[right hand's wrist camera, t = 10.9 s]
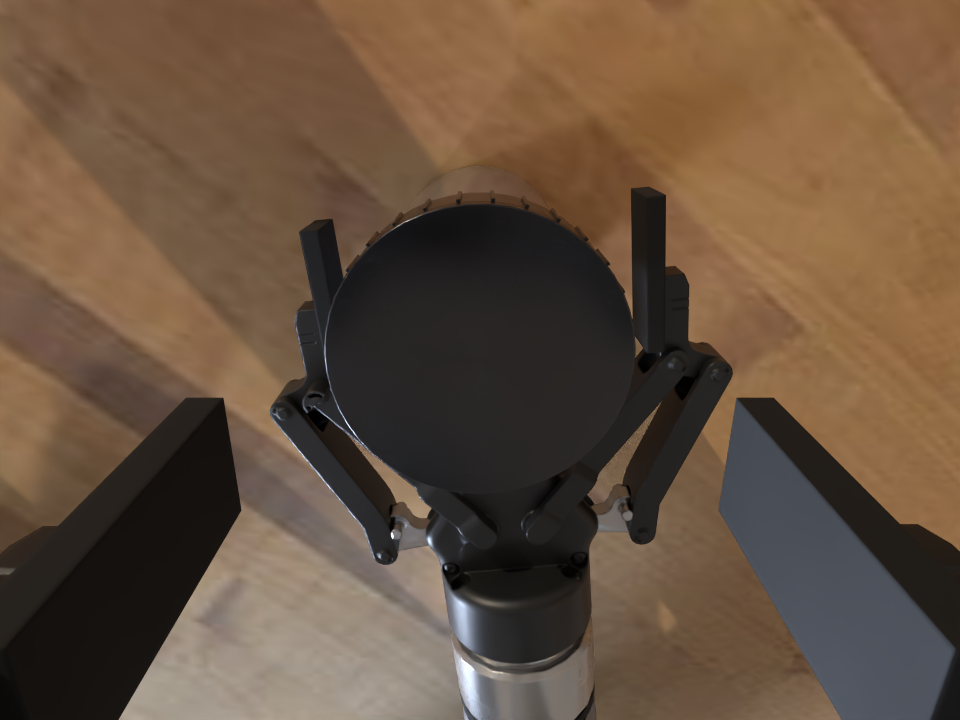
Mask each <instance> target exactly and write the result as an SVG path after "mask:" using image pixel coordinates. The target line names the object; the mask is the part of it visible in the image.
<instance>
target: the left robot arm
mask: <svg viewBox="0 0 960 720" xmlns="http://www.w3.org/2000/svg"><path fill="white" fill-rule="evenodd" d="M631 221H632V297H633V326H634V331H635V336H636V338H637V339H638V341H639V342H640V344H641V345H642V347H643V349H642V351H641V352H640V353H639V354H638V355H637V357H636V358H635V364H634V371H633V376H632V380H631V385H630V388H629V391H628V394H627V396H626V399H625V402H624V405H623V406H622V408H621V410H620V412H619V414H618V416H617V418H616V420H615V421H614V423H613V424H612V426H611V427H610V428H609V430H608V431H607V433H606V434H605V435H604V437H603V438H602V439H601V440H600V441H599V442H598V443H597V444H596V445H595V446H594V448H593V449H592V450H591V451H589V452H588V453H587V454H586V455H585V456H584V457H582V458H581V459H580V460H579V461H578V462H576V463H575V464H573V465H572V466H570V467H569V468H567V469H566V470H564V471H563V472H561V473H559V474H557V475H555V476H553V477H551V478H549V479H547V480H545V481H542V482H539V483H537V484H534V485H531V486H528V487H525V488H520V489H516V490H512V491H506V492H498V493H478V494H472V493H462V492H453V491H449V490H444V489H439V488H435V487H432V486H429V485H426V484H423V483H420V482H418V481H416V480H413V479H411V478H409V477H407V476H405V475H403V474H401V473H399V472H398V471H396V470H395V469H393V468H391V467H390V466H388V465H387V464H386V465H387V466H388V467H389V468H391V469H392V470H393V471H394V472H396V473H397V474H398V475H399V476H401V477H402V478H403V479H404V480H406V481H407V482H408V483H409V484H411V485H412V486H413V487H414V488H415V489H416V490H417V492H418V495H419V497H420V498H421V499H422V500H423V501H424V502H425V503H426V504H427V505H428V506H430V507H431V508H432V509H431V510H430V512H429V514H428V517H427V518H418V517H416V516H414V515H413V514H412V512H411V511H410V509H409V508H408V507H407V505H406V504H405V503H404V502H398V503H396V501H395V498H394V496H393V494H392V492H391V490H390V488H389V487H388V486H387V484H386V483H385V482H384V480H383V479H382V478H381V476H380V475H379V474H378V473H377V471H376V470H375V469H374V468H373V466H372V465H371V464H370V463H369V461H368V460H367V459H366V458H365V456H364V455H363V454H362V453H361V451H360V450H359V449H358V448H357V446H356V445H355V444H354V442H353V441H352V440H351V439H350V437H349V436H351V437H352V438H353V439H354V440H356V441H357V442H358V443H359V444H361V445H362V446H363V447H364V448H366V449H367V450H368V451H369V449H368V448H367V447H366V446H365V445H364V444H363V443H362V442H361V441H360V440H359V439H358V438H357V436H356V435H355V434H354V432H353V431H352V430H351V428H350V427H349V426H348V424H347V423H346V421H345V419H344V417H343V416H342V414H341V412H340V410H339V409H338V406H337V404H336V401H335V399H334V396H333V394H332V392H331V388H330V384H329V380H328V376H327V372H326V363H325V354H324V353H325V332H326V327H327V321H328V315H329V312H330V309H331V306H332V303H333V300H332V299H333V296H334V295H335V294H336V292H337V291H338V289H339V287H340V285H341V283H342V281H343V274H342V269H341V263H340V258H339V252H338V247H337V241H336V236H335V230H334V224H333V219H325V220H315V221H314V222H312V223H311V224H310V225H308V226H307V227H305V228H304V229H303V230H301V231H300V232H299V234H300V239H301V244H302V249H303V254H304V259H305V264H306V269H307V274H308V279H309V283H310V288H311V293H312V298H313V301H305V302H304V304H303V305H302V306H301V307H300V308H299V309H298V310H297V313H296V319H295V326H296V331H297V334H298V340H299V343H300V349H301V354H302V359H303V363H304V368H305V373H306V377H304V378H302V379H299V380H292V381H289V382H288V383H287V384H286V386H285V387H284V389H283V390H282V392H281V393H280V394H279V396H278V397H277V399H276V400H275V402H274V403H273V405H272V406H271V409H270V416H271V418H272V419H273V421H274V422H275V423H276V424H277V425H278V427H279V428H280V429H281V430H282V431H283V433H284V434H285V435H286V436H287V437H288V439H289V440H290V441H291V442H292V443H293V445H294V446H295V447H296V448H297V449H298V451H299V452H300V453H301V454H302V455H303V457H304V458H305V459H306V460H307V461H308V463H309V464H310V465H311V466H312V467H313V469H314V470H315V471H316V472H317V473H318V475H319V476H320V477H321V478H322V479H323V481H324V482H325V483H326V484H327V485H328V487H329V488H330V489H331V490H332V491H333V493H334V494H335V495H336V496H337V497H338V499H339V500H340V501H341V502H342V503H343V505H344V506H345V507H346V508H347V509H348V511H349V512H350V513H351V514H352V515H353V517H354V518H355V519H356V520H357V521H358V523H359V524H360V525H361V526H362V527H363V529H364V531H365V534H366V537H367V540H368V543H369V546H370V549H371V552H372V555H373V557H374V559H375V561H377V562H378V563H380V564H383V565H389V564H391V563H393V562H394V561H396V559H397V556H398V551H399V550H405V549H411V548H416V547H422V546H427V545H429V546H430V548H431V549H432V550H433V551H434V552H435V553H436V555H437V556H438V558H439V561H440V564H441V570H442V577H443V584H444V590H445V597H446V604H447V611H448V617H449V623H450V626H451V639H452V645H453V651H454V657H455V663H456V669H457V675H458V681H459V687H460V694H461V699H462V704H463V711H464V720H596V710H595V698H594V691H595V686H594V678H595V667H594V648H593V629H592V618H591V607H592V606H591V584H590V562H589V547H590V544H591V541H592V539H593V538H594V536H595V535H596V533H597V532H629V535H630V538H631V539H632V541H633V542H635V543H636V544H641V545H642V544H647V543H649V542H651V541H652V540H653V539H654V536H655V533H656V526H657V518H658V511H659V505H660V503H661V501H662V499H663V498H664V496H665V494H666V492H667V490H668V489H669V487H670V485H671V483H672V482H673V480H674V478H675V476H676V475H677V473H678V471H679V469H680V468H681V466H682V464H683V462H684V461H685V459H686V457H687V455H688V454H689V452H690V450H691V448H692V447H693V445H694V443H695V441H696V440H697V438H698V436H699V434H700V433H701V431H702V429H703V427H704V425H705V424H706V422H707V420H708V418H709V417H710V415H711V413H712V411H713V410H714V408H715V406H716V404H717V403H718V401H719V399H720V397H721V396H722V394H723V392H724V390H725V389H726V387H727V385H728V383H729V382H730V380H731V378H732V375H733V372H732V368H731V366H730V365H729V364H728V363H727V362H726V361H725V360H724V358H723V357H722V356H721V355H720V354H719V353H718V352H717V351H716V350H715V349H714V348H713V347H712V346H711V345H710V344H708V343H704V342H701V343H694V342H690V341H688V318H689V309H688V307H689V284H688V281H687V279H686V276H685V274H684V273H683V272H682V271H680V270H679V269H678V268H677V267H676V266H670V267H665V245H666V195H665V194H663V193H661V192H659V191H657V190H654V189H652V188H650V187H641V188H631ZM661 401H662V402H661ZM660 402H661V404H660V406H659V408H658V410H657V412H656V414H655V415H654V417H653V419H652V421H651V423H650V425H649V427H648V429H647V430H646V432H645V434H644V436H643V438H642V440H641V442H640V444H639V445H638V447H637V449H636V451H635V453H634V455H633V457H632V459H631V460H630V462H629V465H628V467H627V469H626V472H625V475H624V479H623V484H616V485H614V486H613V488H612V491H611V492H610V494H609V497H608V499H607V500H606V501H605V502H603V503H601V504H594V503H593V501H592V500H591V498H590V497H589V496H588V495H587V494H588V493H589V492H590V490H591V489H592V488H593V487H594V485H595V483H596V481H597V477H598V474H599V472H600V471H601V470H602V469H603V468H604V466H605V465H606V464H607V463H608V462H609V461H610V460H611V458H612V457H613V456H614V455H615V454H616V453H617V452H618V450H619V449H620V448H621V447H622V446H623V445H624V444H625V442H626V441H627V440H628V439H629V438H630V437H631V436H632V434H633V433H634V432H635V431H636V430H637V429H638V428H639V426H640V425H641V424H642V423H643V422H644V421H645V419H646V418H647V417H648V416H649V415H650V414H651V413H652V411H653V410H654V409H655V408H656V407H657V406H658V405H659V403H660ZM346 433H347V434H348V435H349V436H348V435H347V434H346ZM369 452H370V451H369ZM372 454H373V453H372ZM373 455H374V454H373ZM374 456H375V455H374ZM377 458H378V457H377ZM378 459H379V458H378ZM379 460H380V459H379ZM382 462H383V461H382ZM383 463H384V462H383ZM384 464H385V463H384Z"/></svg>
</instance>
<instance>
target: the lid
mask: <svg viewBox="0 0 960 720" xmlns="http://www.w3.org/2000/svg"><path fill="white" fill-rule="evenodd" d="M366 246H367V247H366V249H365V250H364V251H363V252H362V254H361V255H360V256H359V255H357V257H356V258H355V259H354V260H353V262H352V263H351V264H350V265H349V267H348V268H347V269H346V272H348V273H347V274H346V276H345V277H344V279H343V281H342V283H341V285H340V287H339V289H338V291H337V292H336V294H335V295H334V296H333V299H332V300H333V303H332V306H331V309H330V312H329V315H328V321H327V327H326V332H325V353H324V354H325V363H326V372H327V376H328V380H329V384H330V388H331V392H332V394H333V396H334V399H335V401H336V404H337V406H338V409H339V410H340V412H341V414H342V416H343V417H344V419H345V421H346V423H347V424H348V426H349V427H350V428H351V430H352V431H353V432H354V434H355V435H356V436H357V438H358V439H359V440H360V441H361V442H362V443H363V444H364V445H365V446H366V447H367V448H368V449H369V451H370V452H371V453H373V454H374V455H375V456H376V457H378V458H379V459H380V460H381V461H383V462H384V463H385V464H387V465H388V466H390V467H391V468H393V469H395V470H396V471H398V472H399V473H401V474H403V475H405V476H407V477H409V478H411V479H413V480H416V481H418V482H420V483H423V484H426V485H429V486H432V487H435V488H439V489H444V490H449V491H453V492H462V493H472V494H478V493H498V492H506V491H512V490H516V489H520V488H525V487H528V486H531V485H534V484H537V483H539V482H542V481H545V480H547V479H549V478H551V477H553V476H555V475H557V474H559V473H561V472H563V471H564V470H566V469H567V468H569V467H570V466H572V465H573V464H575V463H576V462H578V461H579V460H580V459H581V458H582V457H584V456H585V455H586V454H587V453H588V452H589V451H591V450H592V449H593V448H594V446H595V445H596V444H597V443H598V442H599V441H600V440H601V439H602V438H603V437H604V435H605V434H606V433H607V431H608V430H609V428H610V427H611V426H612V424H613V423H614V421H615V420H616V418H617V416H618V414H619V412H620V410H621V408H622V406H623V405H624V402H625V399H626V396H627V394H628V391H629V388H630V385H631V380H632V376H633V371H634V364H635V351H636V348H635V331H634V326H633V319H632V316H631V311H630V309H629V306H628V303H627V300H626V298H625V295H624V293H625V291H624V289H623V288H622V286H621V285H620V284H619V282H618V281H617V279H616V277H615V275H614V274H613V273H612V271H611V270H610V268H609V267H608V266H609V265H610V263H609V262H608V261H607V259H606V258H605V257H604V256H603V254H602V253H601V252H600V251H599V249H596V250H595V249H594V247H593V246H592V245H591V244H590V242H589V241H588V238H587V237H586V236H585V234H584V233H583V232H582V231H581V229H580V228H579V227H578V226H577V227H576V228H575V227H573V226H572V225H571V224H570V223H568V222H567V221H566V220H565V219H563V218H562V217H561V216H559V215H558V214H557V213H556V211H555V210H554V209H553V208H551V210H548V209H547V208H545V207H543V206H540V205H538V204H536V203H533V202H531V201H528V200H527V199H526V197H525V196H522V197H521V198H518V197H514V196H510V195H505V194H497V193H494V190H490V193H488V192H484V193H463V194H462V191H458V194H456V195H449V196H446V197H442V198H439V199H435V200H432V201H431V199H430V198H429V199H427V201H426V202H425V203H424V204H422V205H420V206H418V207H415V208H413V209H411V210H410V211H408V212H406V213H405V214H403V213H402V212H401V213H399V214H398V216H397V217H396V218H395V220H394V221H393V222H392V223H390V224H389V225H388V226H387V227H385V228H384V229H383V230H382V231H381V232H380V233H379V232H378V231H377V232H376V233H375V234H374V235H373V236H372V238H371V239H370V240H369V241H368V243H367V244H366Z"/></svg>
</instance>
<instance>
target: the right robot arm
mask: <svg viewBox="0 0 960 720" xmlns="http://www.w3.org/2000/svg"><path fill="white" fill-rule="evenodd" d="M240 512H241V505H240V498H239V492H238V486H237V480H236V473H235V467H234V461H233V455H232V448H231V442H230V436H229V430H228V424H227V417H226V411H225V405H224V399H223V398H186V399H185V400H184V401H183V402H182V403H181V404H180V405H179V406H178V407H177V408H176V409H175V410H174V411H173V412H172V413H171V414H170V415H169V416H168V417H167V418H166V419H165V420H164V421H163V422H162V423H161V424H160V425H159V426H158V427H157V428H156V429H155V430H154V431H153V432H152V433H151V434H150V435H149V436H148V437H147V438H146V439H145V440H144V441H143V442H142V443H141V444H140V445H139V446H138V447H137V448H136V449H135V450H134V451H133V452H132V453H131V454H130V455H129V456H128V457H127V458H126V459H125V460H124V461H123V462H122V463H121V464H120V465H119V466H118V467H117V468H116V469H115V470H114V471H113V472H112V473H111V474H110V475H109V476H108V477H107V478H106V479H105V480H104V481H103V482H102V483H101V484H100V485H99V486H98V487H97V488H96V489H95V490H94V491H93V492H92V493H91V494H90V495H89V496H88V497H87V498H86V499H85V500H84V501H83V502H82V503H81V504H80V505H79V506H78V507H77V508H76V509H75V510H74V511H73V512H72V513H71V514H70V515H69V516H68V517H67V518H66V519H65V520H64V521H63V522H62V523H61V524H60V525H59V526H43V527H41V528H39V529H38V530H36V531H34V532H33V533H31V534H29V535H27V536H26V537H24V538H22V539H21V540H19V541H17V542H16V543H14V544H12V545H10V546H9V547H8V548H7V549H6V550H5V551H3V552H2V553H1V554H0V720H118V719H119V718H120V716H121V714H122V713H123V711H124V709H125V708H126V706H127V704H128V702H129V701H130V699H131V697H132V696H133V694H134V692H135V691H136V689H137V687H138V685H139V684H140V682H141V680H142V679H143V677H144V675H145V674H146V672H147V670H148V668H149V667H150V665H151V663H152V662H153V660H154V658H155V656H156V655H157V653H158V651H159V650H160V648H161V646H162V645H163V643H164V641H165V639H166V638H167V636H168V634H169V633H170V631H171V629H172V628H173V626H174V624H175V622H176V621H177V619H178V617H179V616H180V614H181V612H182V611H183V609H184V607H185V605H186V604H187V602H188V600H189V599H190V597H191V595H192V593H193V592H194V590H195V588H196V587H197V585H198V583H199V582H200V580H201V578H202V576H203V575H204V573H205V571H206V570H207V568H208V566H209V565H210V563H211V561H212V559H213V558H214V556H215V554H216V553H217V551H218V549H219V548H220V546H221V544H222V542H223V541H224V539H225V537H226V536H227V534H228V532H229V531H230V529H231V527H232V525H233V524H234V522H235V520H236V519H237V517H238V515H239V513H240ZM719 512H720V513H721V515H722V517H723V519H724V520H725V522H726V524H727V525H728V527H729V529H730V531H731V532H732V534H733V536H734V537H735V539H736V541H737V542H738V544H739V546H740V548H741V549H742V551H743V553H744V554H745V556H746V558H747V559H748V561H749V563H750V565H751V566H752V568H753V570H754V571H755V573H756V575H757V576H758V578H759V580H760V582H761V583H762V585H763V587H764V588H765V590H766V592H767V593H768V595H769V597H770V599H771V600H772V602H773V604H774V605H775V607H776V609H777V611H778V612H779V614H780V616H781V617H782V619H783V621H784V622H785V624H786V626H787V628H788V629H789V631H790V633H791V634H792V636H793V638H794V639H795V641H796V643H797V645H798V646H799V648H800V650H801V651H802V653H803V655H804V656H805V658H806V660H807V662H808V663H809V665H810V667H811V668H812V670H813V672H814V674H815V675H816V677H817V679H818V680H819V682H820V684H821V685H822V687H823V689H824V691H825V692H826V694H827V696H828V697H829V699H830V701H831V702H832V704H833V706H834V708H835V709H836V711H837V713H838V714H839V716H840V718H841V719H842V720H960V551H959V550H957V549H956V548H955V547H954V546H953V545H952V544H951V543H949V542H947V541H945V540H944V539H942V538H940V537H939V536H937V535H935V534H933V533H932V532H930V531H928V530H927V529H925V528H923V527H922V526H920V525H918V524H899V523H898V522H897V521H896V520H895V519H894V518H893V517H892V516H891V515H890V514H889V513H888V512H887V511H886V510H885V509H884V508H883V507H882V506H881V505H880V504H879V503H878V502H877V501H876V500H875V499H874V498H873V497H872V496H871V495H870V494H869V493H868V492H867V491H866V490H865V489H864V488H863V487H862V486H861V485H860V484H859V483H858V482H857V481H856V480H855V479H854V478H853V477H852V476H851V475H850V474H849V473H848V472H847V471H846V470H845V469H844V468H843V467H842V466H841V465H840V464H839V463H838V462H837V461H836V460H835V459H834V458H833V457H832V456H831V455H830V454H829V453H828V452H827V451H826V450H825V449H824V448H823V447H822V446H821V445H820V444H819V443H818V442H817V441H816V440H815V439H814V438H813V437H812V436H811V435H810V434H809V433H808V432H807V431H806V430H805V429H804V428H803V427H802V426H801V425H800V424H799V423H798V422H797V421H796V420H795V419H794V418H793V417H792V416H791V415H790V414H789V413H788V412H787V411H786V410H785V409H784V408H783V407H782V406H781V405H780V404H779V403H778V402H777V401H776V400H775V399H774V398H737V399H736V405H735V411H734V417H733V424H732V430H731V436H730V442H729V448H728V455H727V461H726V467H725V473H724V480H723V486H722V492H721V498H720V505H719Z"/></svg>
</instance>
